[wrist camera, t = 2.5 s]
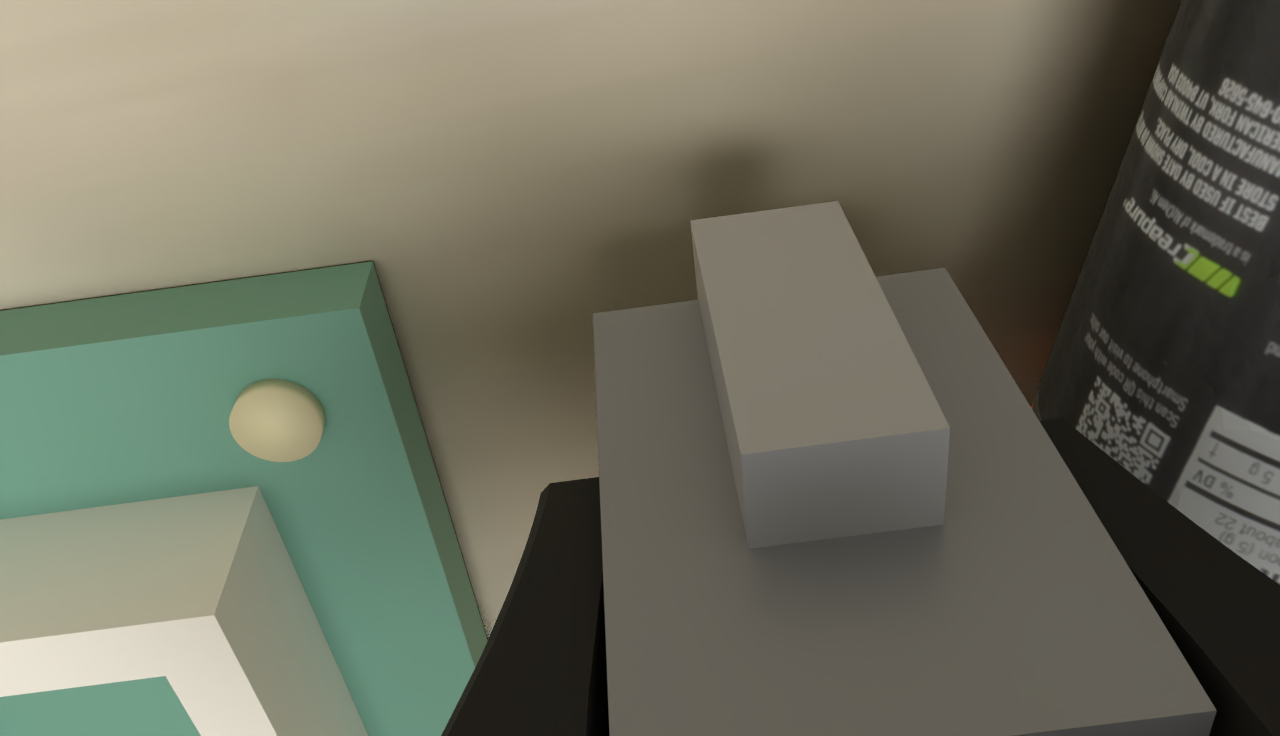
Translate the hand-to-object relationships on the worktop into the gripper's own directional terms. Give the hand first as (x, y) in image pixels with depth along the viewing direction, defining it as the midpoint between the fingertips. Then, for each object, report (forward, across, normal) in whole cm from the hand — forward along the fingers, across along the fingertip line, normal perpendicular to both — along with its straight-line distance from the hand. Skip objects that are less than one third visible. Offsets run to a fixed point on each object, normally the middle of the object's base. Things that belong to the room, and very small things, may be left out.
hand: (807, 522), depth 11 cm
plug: (+2, 0, 0) cm, 2 cm away
